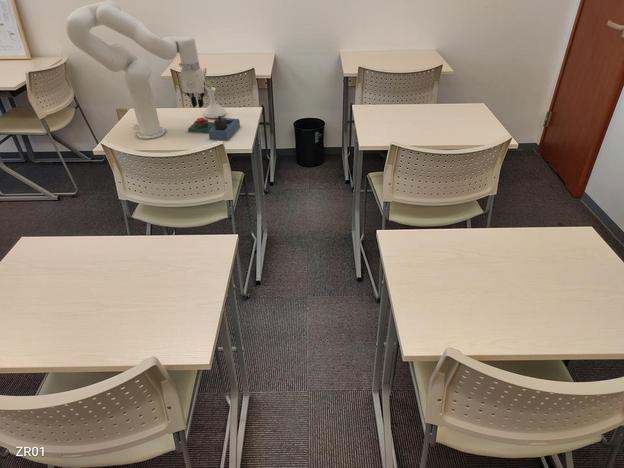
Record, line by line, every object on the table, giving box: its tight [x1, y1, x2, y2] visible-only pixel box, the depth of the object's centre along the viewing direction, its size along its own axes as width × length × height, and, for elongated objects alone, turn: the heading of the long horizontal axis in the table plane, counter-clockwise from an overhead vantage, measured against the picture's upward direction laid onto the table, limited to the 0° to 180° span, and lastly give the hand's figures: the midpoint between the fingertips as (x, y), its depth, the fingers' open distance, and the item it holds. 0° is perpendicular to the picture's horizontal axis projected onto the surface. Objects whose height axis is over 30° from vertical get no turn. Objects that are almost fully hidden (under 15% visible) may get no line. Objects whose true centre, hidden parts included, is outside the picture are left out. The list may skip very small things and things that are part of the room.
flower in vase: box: [201, 67, 227, 119], centre depth 234 cm, size 13×11×25 cm
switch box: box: [187, 118, 215, 134], centre depth 228 cm, size 10×9×4 cm
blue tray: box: [208, 117, 241, 142], centre depth 223 cm, size 9×16×4 cm, turn 166°
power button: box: [196, 117, 206, 124], centre depth 227 cm, size 4×4×2 cm
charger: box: [213, 116, 227, 130], centre depth 219 cm, size 4×4×10 cm
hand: (198, 106), depth 223 cm, fingers closed
